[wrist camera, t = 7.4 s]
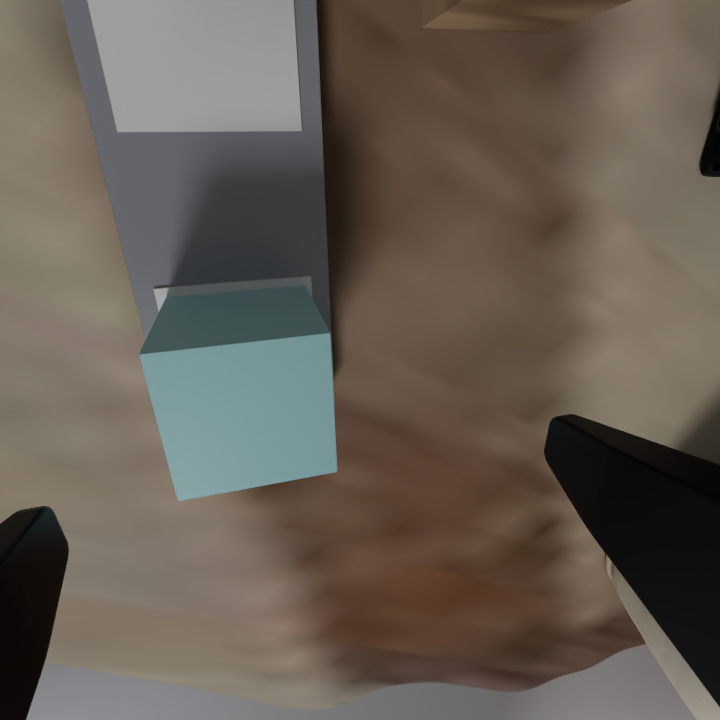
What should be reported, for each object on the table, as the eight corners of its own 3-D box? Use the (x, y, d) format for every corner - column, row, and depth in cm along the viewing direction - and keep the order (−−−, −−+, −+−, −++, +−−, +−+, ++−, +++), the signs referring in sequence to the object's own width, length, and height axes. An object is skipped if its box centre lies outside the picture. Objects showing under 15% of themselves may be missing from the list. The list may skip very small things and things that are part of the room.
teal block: (305, 285, 17) (330, 333, 12) (313, 397, 19) (337, 471, 14) (166, 297, 15) (138, 354, 11) (192, 414, 18) (178, 501, 13)
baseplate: (303, -91, 13) (311, -120, 12) (328, 391, 21) (335, 408, 19) (44, -120, 12) (19, -156, 10) (172, 413, 19) (168, 433, 18)
